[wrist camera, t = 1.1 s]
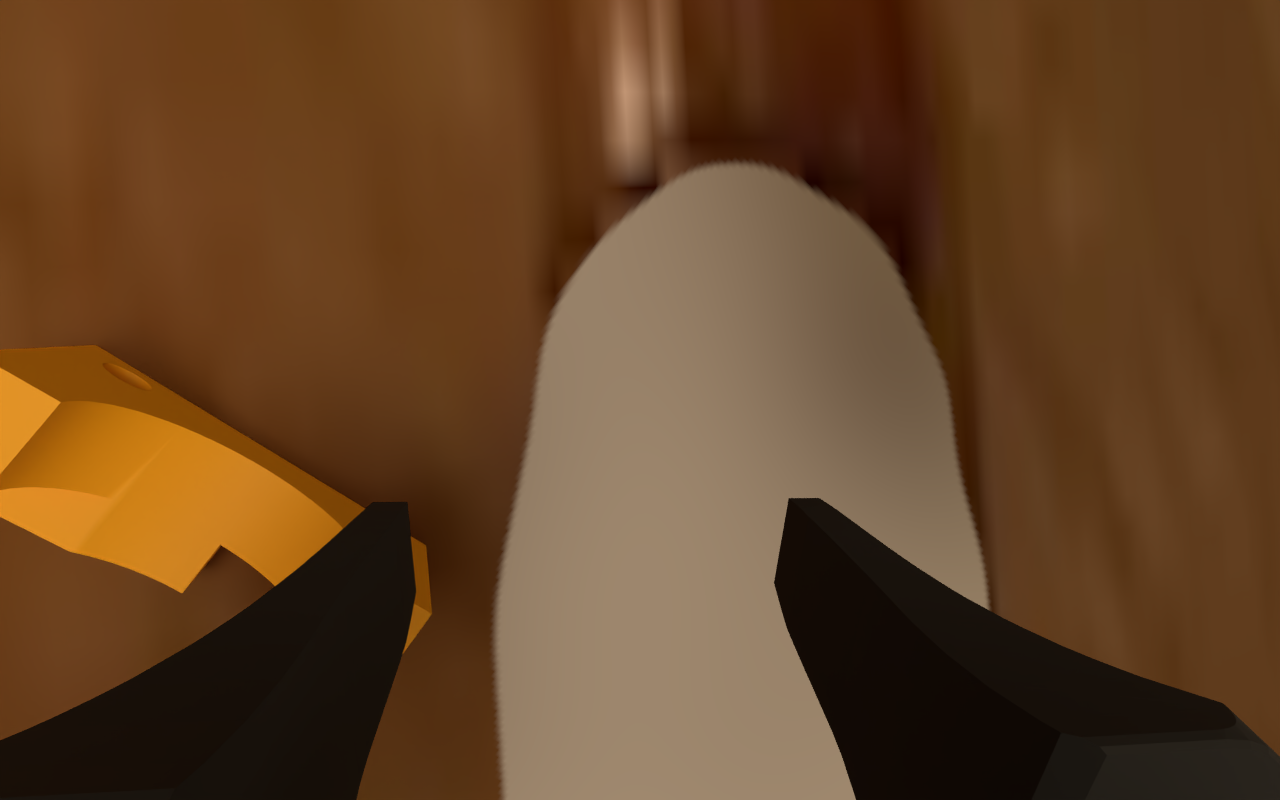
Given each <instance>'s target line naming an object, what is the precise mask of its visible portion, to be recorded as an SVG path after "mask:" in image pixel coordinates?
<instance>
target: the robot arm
mask: <svg viewBox="0 0 1280 800" xmlns="http://www.w3.org/2000/svg"><path fill="white" fill-rule="evenodd" d="M774 584H775V588H776V591H777V595H778V598H779V602H780V606H781V610H782V613H783V616H784V620H785V623H786V626H787V629H788V632H789V634H790V637H791V639H792V641H793V644H794V646H795V648H796V651H797V653H798V655H799V657H800V660H801V662H802V664H803V666H804V669H805V671H806V673H807V676H808V678H809V680H810V682H811V685H812V687H813V689H814V691H815V694H816V696H817V698H818V700H819V703H820V705H821V707H822V709H823V712H824V714H825V716H826V718H827V721H828V723H829V725H830V728H831V730H832V732H833V735H834V737H835V740H836V742H837V745H838V747H839V750H840V752H841V755H842V758H843V761H844V764H845V767H846V770H847V773H848V776H849V779H850V782H851V785H852V788H853V791H854V794H855V798H856V800H1280V757H1279V756H1278V755H1277V754H1276V753H1275V752H1274V751H1273V750H1272V749H1271V748H1270V747H1269V746H1268V745H1267V744H1266V743H1265V742H1264V741H1263V740H1261V739H1260V738H1259V737H1258V736H1257V735H1256V734H1255V733H1254V732H1253V731H1252V730H1251V729H1250V728H1249V727H1248V726H1247V725H1246V724H1245V723H1243V722H1242V721H1241V720H1240V719H1239V718H1238V717H1237V716H1236V715H1235V714H1234V713H1233V712H1232V711H1231V710H1230V709H1229V708H1228V707H1226V706H1225V705H1224V704H1223V703H1220V702H1217V701H1214V700H1211V699H1208V698H1205V697H1202V696H1199V695H1195V694H1192V693H1189V692H1186V691H1183V690H1180V689H1177V688H1174V687H1170V686H1167V685H1164V684H1161V683H1158V682H1155V681H1152V680H1149V679H1146V678H1143V677H1140V676H1137V675H1134V674H1132V673H1129V672H1126V671H1124V670H1121V669H1118V668H1116V667H1113V666H1111V665H1108V664H1105V663H1103V662H1100V661H1097V660H1095V659H1092V658H1090V657H1087V656H1085V655H1083V654H1080V653H1078V652H1075V651H1073V650H1070V649H1068V648H1066V647H1063V646H1061V645H1059V644H1057V643H1054V642H1052V641H1050V640H1048V639H1046V638H1044V637H1041V636H1039V635H1037V634H1035V633H1033V632H1031V631H1028V630H1026V629H1024V628H1022V627H1020V626H1018V625H1016V624H1014V623H1012V622H1010V621H1008V620H1006V619H1004V618H1002V617H1000V616H998V615H996V614H995V613H993V612H991V611H989V610H987V609H985V608H984V607H981V606H980V605H978V604H976V603H974V602H972V601H971V600H969V599H967V598H965V597H963V596H962V595H960V594H958V593H957V592H955V591H953V590H952V589H950V588H948V587H947V586H945V585H944V584H942V583H941V582H939V581H937V580H936V579H934V578H933V577H931V576H930V575H928V574H927V573H925V572H923V571H922V570H920V569H919V568H917V567H916V566H914V565H913V564H911V563H910V562H908V561H907V560H905V559H904V558H902V557H901V556H900V555H898V554H897V553H895V552H894V551H893V550H891V549H890V548H888V547H887V546H886V545H884V544H883V543H881V542H880V541H879V540H877V539H876V538H875V537H873V536H872V535H870V534H869V533H868V532H866V531H865V530H864V529H862V528H861V527H860V526H858V525H857V524H855V523H854V522H853V521H851V520H850V519H848V518H847V517H846V516H844V515H843V514H842V513H840V512H839V511H838V510H836V509H835V508H833V507H832V506H830V505H829V504H827V503H826V502H824V501H823V500H821V499H819V498H789V500H788V507H787V512H786V517H785V523H784V529H783V535H782V540H781V546H780V552H779V558H778V564H777V569H776V575H775V581H774ZM415 596H416V583H415V573H414V563H413V553H412V543H411V533H410V524H409V514H408V504H407V502H373V503H371V504H370V505H369V506H368V507H367V508H366V509H364V510H363V511H362V512H361V513H360V514H359V515H358V516H357V517H355V518H354V519H353V520H352V521H351V522H350V523H349V524H348V525H347V526H345V527H344V528H343V529H342V530H341V531H340V532H339V533H338V534H337V535H336V536H334V537H333V538H332V539H331V540H330V541H329V542H328V543H327V544H326V545H324V546H323V547H322V548H321V549H320V550H319V551H317V552H316V553H315V554H314V555H313V556H312V557H311V558H309V559H308V560H307V561H306V562H305V563H304V564H302V565H301V566H300V567H299V568H298V569H296V570H295V571H294V572H293V573H291V574H290V575H289V576H287V577H286V578H285V579H284V580H282V581H281V582H280V583H279V584H277V585H276V586H275V587H273V588H272V589H271V590H270V591H268V592H267V593H266V594H265V595H263V596H262V597H261V598H260V599H258V600H257V601H256V602H254V603H253V604H251V605H250V606H249V607H247V608H246V609H244V610H243V611H242V612H240V613H239V614H237V615H236V616H234V617H233V618H232V619H230V620H229V621H227V622H226V623H224V624H223V625H221V626H219V627H218V628H216V629H215V630H213V631H212V632H210V633H209V634H207V635H206V636H204V637H203V638H201V639H199V640H198V641H196V642H195V643H193V644H191V645H190V646H188V647H186V648H185V649H183V650H181V651H179V652H178V653H176V654H174V655H172V656H171V657H169V658H167V659H165V660H164V661H162V662H160V663H158V664H157V665H155V666H153V667H151V668H150V669H148V670H146V671H144V672H143V673H141V674H139V675H137V676H136V677H134V678H132V679H130V680H128V681H126V682H124V683H123V684H121V685H119V686H117V687H115V688H113V689H111V690H109V691H107V692H105V693H103V694H101V695H99V696H97V697H95V698H93V699H91V700H89V701H87V702H85V703H83V704H81V705H79V706H77V707H74V708H72V709H70V710H68V711H66V712H64V713H62V714H60V715H58V716H56V717H53V718H51V719H49V720H47V721H45V722H42V723H40V724H38V725H36V726H33V727H31V728H29V729H27V730H24V731H22V732H20V733H17V734H15V735H12V736H10V737H8V738H5V739H3V740H0V800H356V798H357V794H358V790H359V786H360V782H361V778H362V775H363V771H364V768H365V765H366V761H367V758H368V755H369V752H370V749H371V746H372V743H373V740H374V737H375V734H376V731H377V728H378V725H379V722H380V719H381V716H382V713H383V710H384V707H385V704H386V702H387V699H388V696H389V693H390V690H391V687H392V684H393V681H394V678H395V675H396V672H397V669H398V666H399V663H400V660H401V657H402V654H403V651H404V648H405V644H406V641H407V636H408V632H409V627H410V622H411V617H412V612H413V606H414V601H415Z"/></svg>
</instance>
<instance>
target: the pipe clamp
mask: <svg viewBox="0 0 1280 800" xmlns="http://www.w3.org/2000/svg"><path fill="white" fill-rule="evenodd" d="M364 509H365V508H364V507H362V506H360V505H359V504H357V503H355V502H354V501H352V500H350V499H349V498H347V497H345V496H344V495H342V494H341V493H339V492H337V491H336V490H334V489H332V488H331V487H329V486H327V485H326V484H324V483H322V482H321V481H319V480H317V479H316V478H314V477H313V476H311V475H309V474H308V473H306V472H304V471H303V470H301V469H299V468H298V467H296V466H294V465H293V464H291V463H289V462H288V461H286V460H285V459H283V458H281V457H280V456H278V455H276V454H275V453H273V452H271V451H270V450H268V449H266V448H265V447H263V446H261V445H260V444H258V443H257V442H255V441H253V440H252V439H250V438H248V437H247V436H245V435H243V434H242V433H240V432H238V431H237V430H235V429H233V428H232V427H230V426H229V425H227V424H225V423H224V422H222V421H220V420H219V419H217V418H215V417H214V416H212V415H210V414H209V413H207V412H205V411H204V410H202V409H201V408H199V407H197V406H196V405H194V404H192V403H191V402H189V401H187V400H186V399H184V398H182V397H181V396H179V395H177V394H176V393H174V392H173V391H171V390H169V389H168V388H166V387H164V386H163V385H161V384H159V383H158V382H156V381H154V380H153V379H151V378H149V377H148V376H146V375H145V374H143V373H141V372H140V371H138V370H136V369H135V368H133V367H131V366H130V365H128V364H126V363H125V362H123V361H121V360H120V359H118V358H117V357H115V356H113V355H112V354H110V353H108V352H107V351H105V350H103V349H102V348H100V347H98V346H97V345H87V346H66V347H45V348H23V349H2V350H0V517H2V518H4V519H6V520H8V521H10V522H12V523H14V524H16V525H18V526H20V527H22V528H24V529H26V530H28V531H30V532H32V533H34V534H36V535H38V536H40V537H42V538H44V539H46V540H47V541H49V542H51V543H53V544H55V545H57V546H59V547H61V548H63V549H65V550H67V551H69V552H73V553H78V554H82V555H86V556H90V557H94V558H98V559H101V560H104V561H108V562H111V563H114V564H117V565H120V566H123V567H126V568H129V569H131V570H134V571H136V572H139V573H141V574H144V575H146V576H148V577H150V578H153V579H155V580H157V581H159V582H161V583H163V584H165V585H167V586H169V587H171V588H173V589H175V590H177V591H179V592H180V593H183V592H184V590H185V589H186V588H187V587H188V586H189V585H190V583H191V582H192V581H193V580H194V579H195V578H196V576H197V575H198V574H199V573H200V572H201V571H202V569H203V568H204V567H205V566H206V565H207V563H208V562H209V561H210V559H211V558H212V557H213V556H214V554H215V553H216V552H217V551H218V549H219V548H220V547H221V546H223V547H225V548H226V549H228V550H229V551H231V552H232V553H234V554H235V555H237V556H239V557H240V558H241V559H243V560H244V561H245V562H247V563H248V564H250V565H251V566H252V567H254V568H255V569H256V570H257V571H259V572H260V573H261V574H262V575H263V576H265V577H266V578H267V579H268V580H269V581H270V582H271V583H272V584H273V585H274V586H276V585H277V584H279V583H280V582H281V581H282V580H284V579H285V578H286V577H287V576H289V575H290V574H291V573H293V572H294V571H295V570H296V569H298V568H299V567H300V566H301V565H302V564H304V563H305V562H306V561H307V560H308V559H309V558H311V557H312V556H313V555H314V554H315V553H316V552H317V551H319V550H320V549H321V548H322V547H323V546H324V545H326V544H327V543H328V542H329V541H330V540H331V539H332V538H333V537H334V536H336V535H337V534H338V533H339V532H340V531H341V530H342V529H343V528H344V527H345V526H347V525H348V524H349V523H350V522H351V521H352V520H353V519H354V518H355V517H357V516H358V515H359V514H360V513H361V512H362V511H363V510H364ZM411 543H412V553H413V563H414V573H415V583H416V596H415V601H414V606H413V612H412V617H411V622H410V627H409V632H408V636H407V641H406V644H405V648H404V651H403V653H404V652H405V650H406V649H407V647H408V646H409V645H410V643H411V642H412V641H413V639H414V638H415V637H416V635H417V634H418V632H419V631H420V630H421V628H422V627H423V626H424V624H425V623H426V621H427V620H428V619H429V617H430V616H431V615H432V608H431V596H430V584H429V573H428V561H427V549H426V545H425V544H423V543H421V542H420V541H418V540H416V539H415V538H413V537H411Z"/></svg>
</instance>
